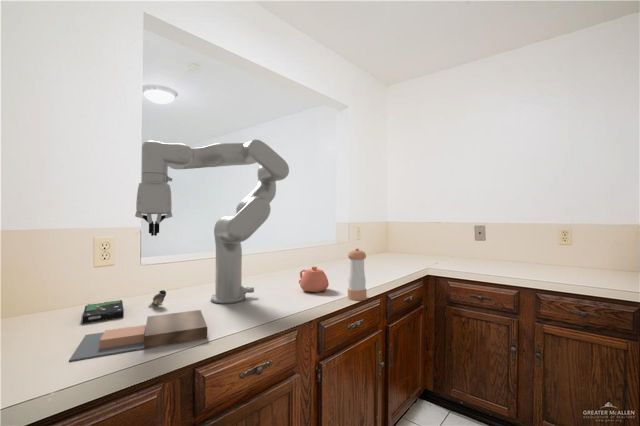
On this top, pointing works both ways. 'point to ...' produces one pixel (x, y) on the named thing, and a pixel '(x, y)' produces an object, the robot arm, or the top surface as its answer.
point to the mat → (91, 349)
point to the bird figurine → (158, 299)
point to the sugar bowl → (313, 280)
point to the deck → (174, 328)
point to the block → (122, 336)
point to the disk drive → (103, 311)
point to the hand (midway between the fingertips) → (154, 235)
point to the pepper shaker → (357, 276)
